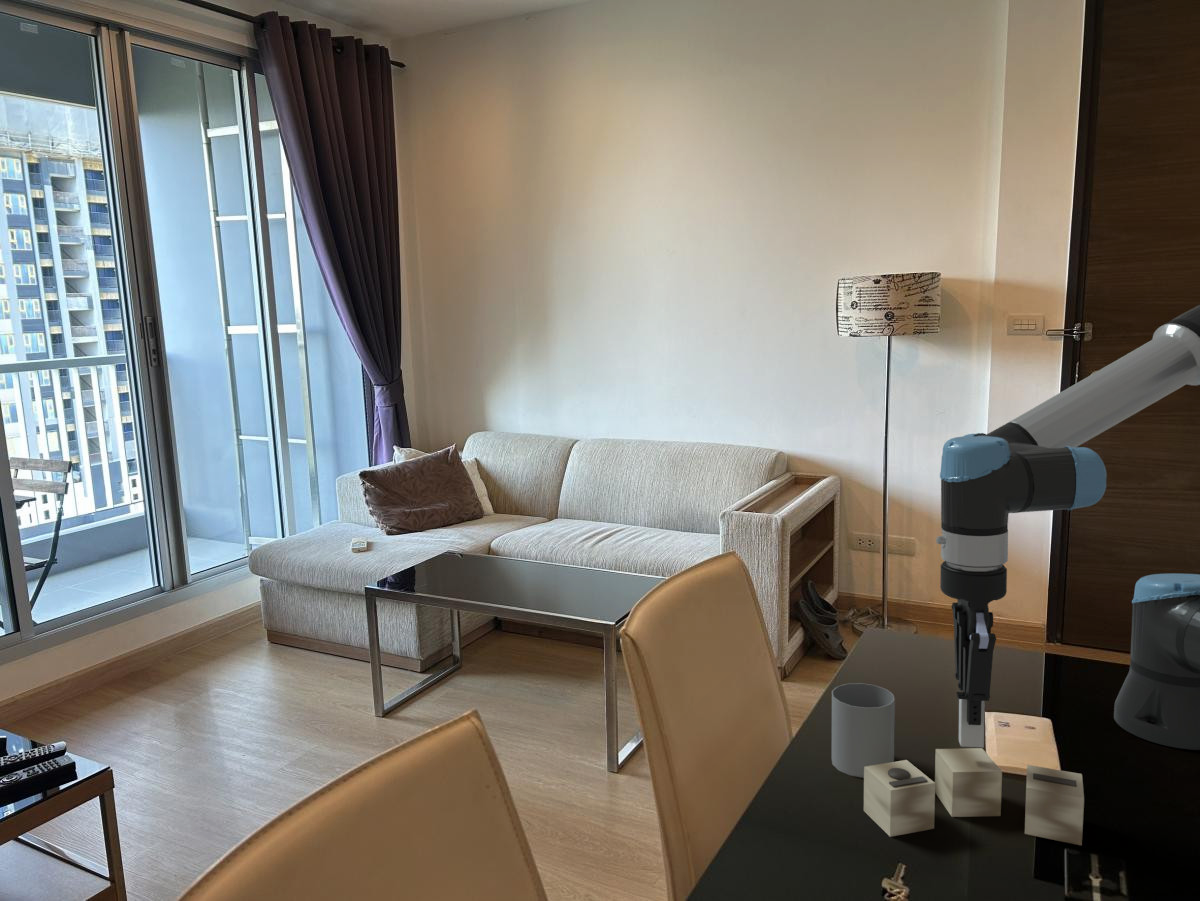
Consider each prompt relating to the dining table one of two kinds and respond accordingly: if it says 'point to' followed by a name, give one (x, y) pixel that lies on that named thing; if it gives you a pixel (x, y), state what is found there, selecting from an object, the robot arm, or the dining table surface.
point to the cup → (862, 727)
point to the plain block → (968, 782)
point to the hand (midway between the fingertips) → (971, 744)
